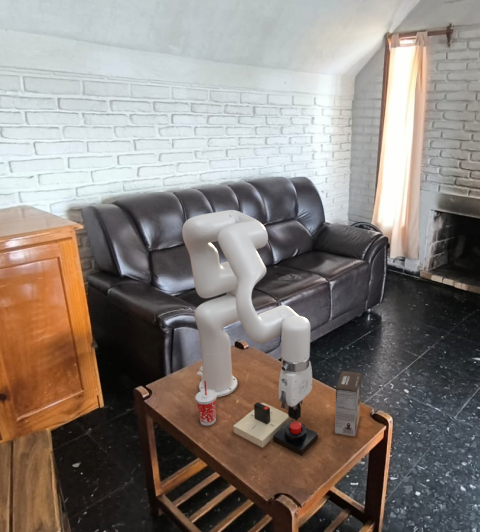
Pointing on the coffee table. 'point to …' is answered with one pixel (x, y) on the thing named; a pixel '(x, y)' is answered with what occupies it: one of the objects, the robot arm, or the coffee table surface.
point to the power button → (295, 427)
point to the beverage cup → (206, 406)
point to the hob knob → (262, 413)
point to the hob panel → (261, 426)
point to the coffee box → (348, 403)
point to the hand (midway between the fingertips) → (294, 416)
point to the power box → (295, 439)
